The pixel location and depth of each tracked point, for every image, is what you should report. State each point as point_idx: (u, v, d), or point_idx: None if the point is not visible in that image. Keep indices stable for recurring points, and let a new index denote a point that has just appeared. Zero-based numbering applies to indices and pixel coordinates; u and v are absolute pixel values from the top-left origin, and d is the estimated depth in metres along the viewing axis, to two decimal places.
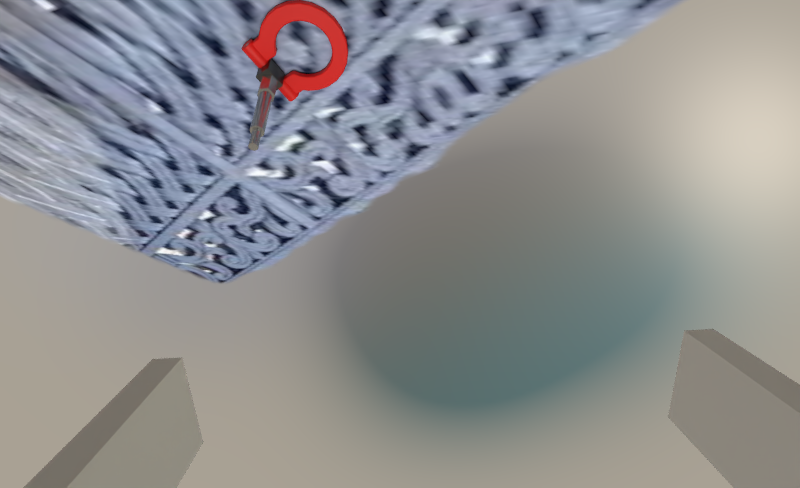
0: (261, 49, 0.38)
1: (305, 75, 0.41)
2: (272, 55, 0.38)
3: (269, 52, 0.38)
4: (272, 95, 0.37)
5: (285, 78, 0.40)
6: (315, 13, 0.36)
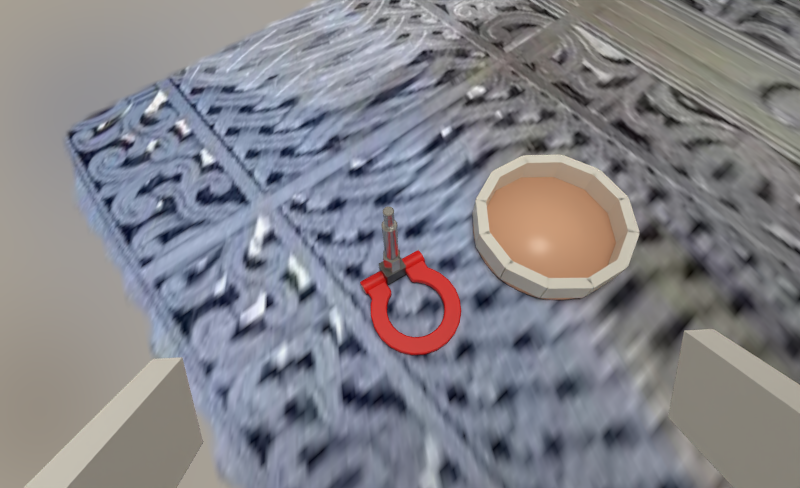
0: (417, 267, 0.38)
1: (387, 304, 0.37)
2: (411, 276, 0.38)
3: (414, 274, 0.38)
4: (391, 260, 0.34)
5: (386, 283, 0.38)
6: (452, 325, 0.36)
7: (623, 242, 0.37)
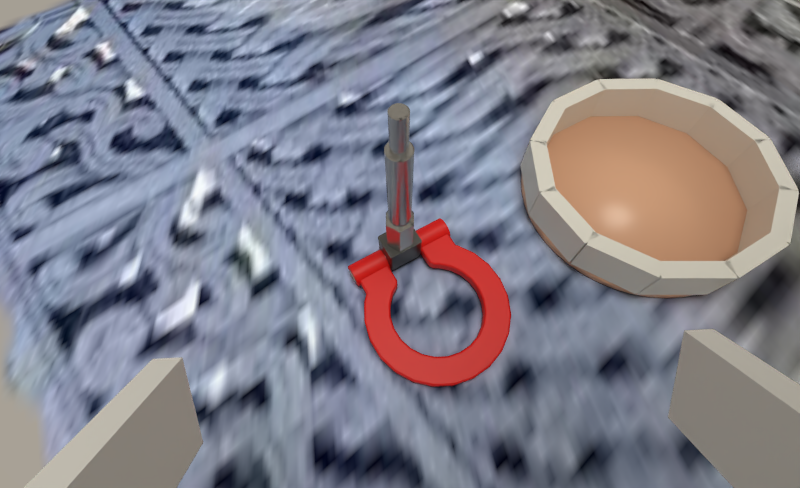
0: (439, 244, 0.24)
1: (390, 303, 0.23)
2: (429, 258, 0.24)
3: (434, 254, 0.24)
4: (399, 228, 0.20)
5: (389, 269, 0.24)
6: (497, 337, 0.22)
7: (774, 205, 0.23)
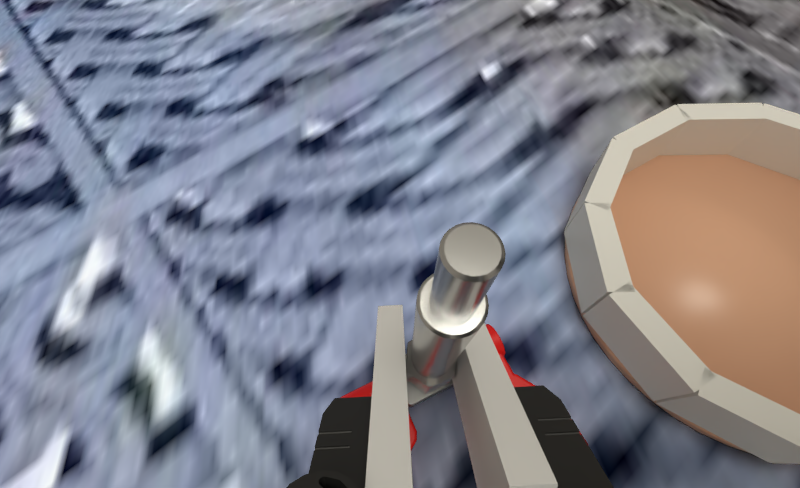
0: None
1: None
2: None
3: None
4: (430, 380, 0.11)
5: None
6: None
7: None
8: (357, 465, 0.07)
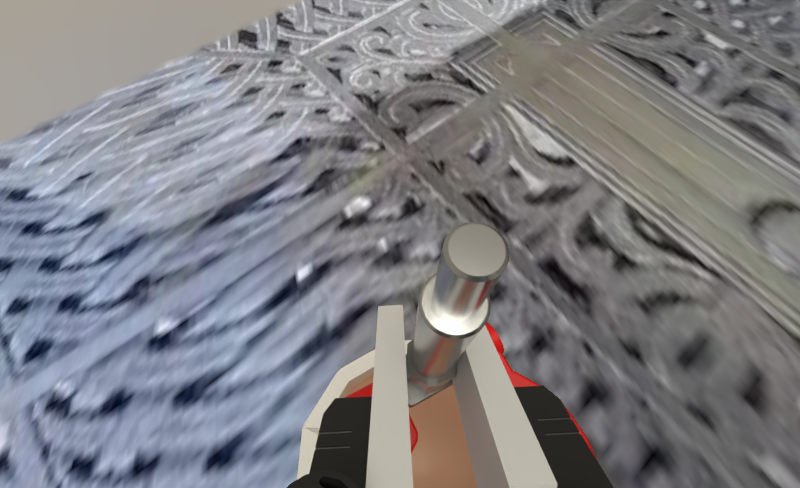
0: None
1: None
2: None
3: None
4: (431, 380, 0.11)
5: None
6: None
7: None
8: (357, 465, 0.07)
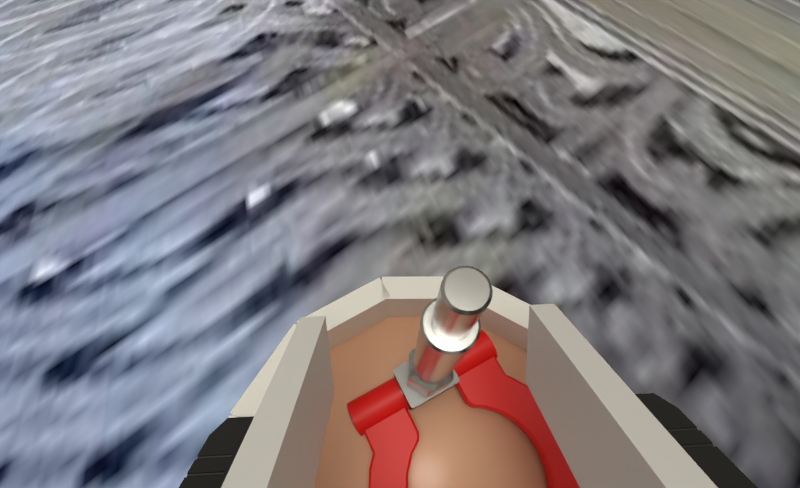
0: (482, 374, 0.16)
1: (408, 468, 0.15)
2: (468, 396, 0.16)
3: (475, 390, 0.16)
4: (431, 386, 0.12)
5: (407, 411, 0.16)
6: None
7: None
8: None
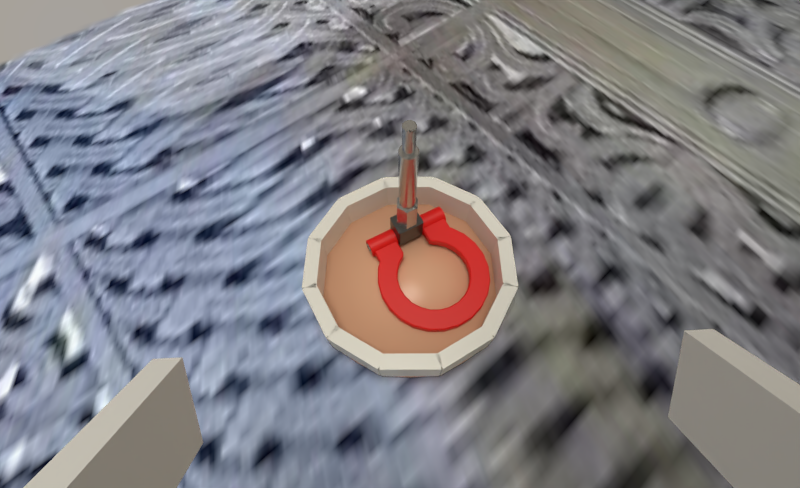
0: (437, 226, 0.31)
1: (398, 269, 0.30)
2: (429, 236, 0.31)
3: (433, 234, 0.31)
4: (407, 209, 0.27)
5: (397, 243, 0.31)
6: (479, 296, 0.29)
7: (495, 300, 0.27)
8: None
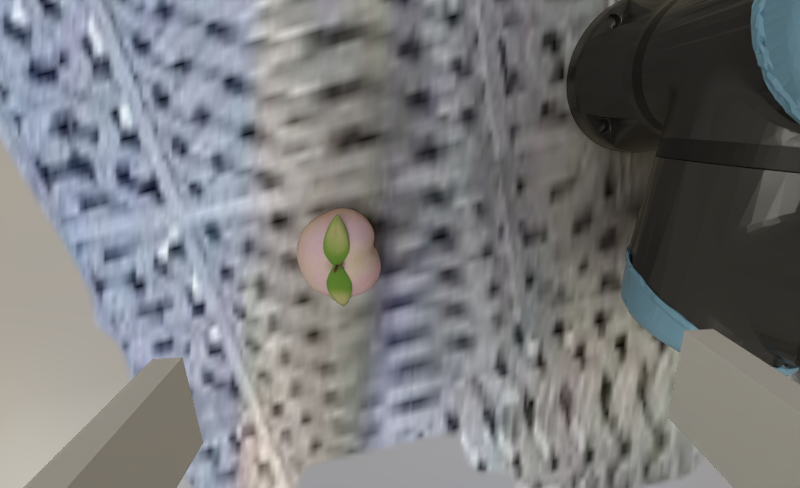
0: None
1: None
2: None
3: None
4: None
5: None
6: None
7: None
8: None
